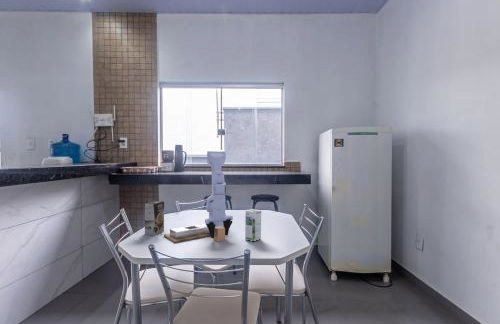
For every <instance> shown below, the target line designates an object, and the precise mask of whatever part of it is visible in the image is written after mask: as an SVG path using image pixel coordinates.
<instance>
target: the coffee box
mask: <svg viewBox="0 0 500 324" xmlns="http://www.w3.org/2000/svg"><path fill="white" fill-rule="evenodd" d="M164 231H165V201H164V200H161V201H160V200H159V201H157V200H156V201H150V202H146V203H145V204H144V235H148V236H149V235H151V236H156V235H158V234H161V233H162V232H164Z"/></svg>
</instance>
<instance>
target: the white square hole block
mask: <svg viewBox="0 0 500 324" xmlns="http://www.w3.org/2000/svg"><path fill="white" fill-rule="evenodd" d="M169 233H170V235H171V236H172V237H174V238H176V239H177V238H182V237H188V236H193V235H199V234H204V233H210V232H209V229H208V227H207V225H206V223H199V224H195V225H193V224H192V225H187V226H181V227H175V228H170V229H169Z"/></svg>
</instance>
